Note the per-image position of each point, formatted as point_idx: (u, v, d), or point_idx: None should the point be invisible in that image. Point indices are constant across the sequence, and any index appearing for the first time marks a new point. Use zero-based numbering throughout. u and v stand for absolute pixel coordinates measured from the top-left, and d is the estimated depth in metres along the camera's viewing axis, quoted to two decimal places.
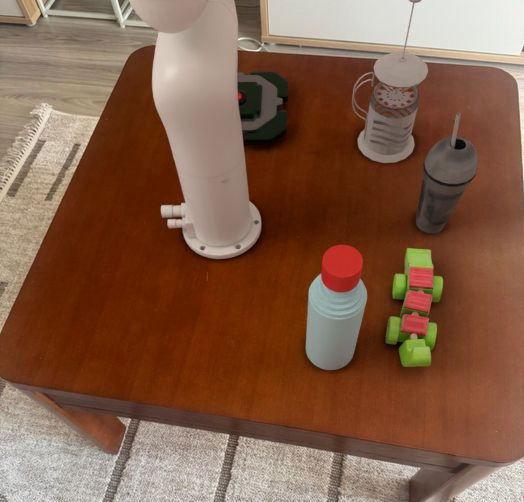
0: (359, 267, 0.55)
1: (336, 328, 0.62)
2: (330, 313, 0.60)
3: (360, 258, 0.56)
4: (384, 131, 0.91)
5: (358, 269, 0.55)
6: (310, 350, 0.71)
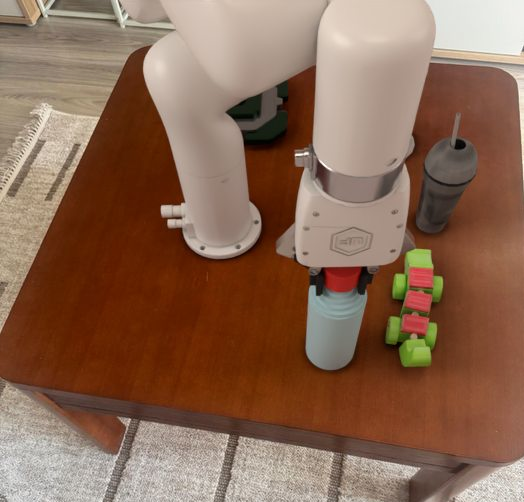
0: (359, 267, 0.55)
1: (336, 328, 0.62)
2: (330, 313, 0.60)
3: None
4: None
5: (358, 269, 0.55)
6: (310, 350, 0.71)
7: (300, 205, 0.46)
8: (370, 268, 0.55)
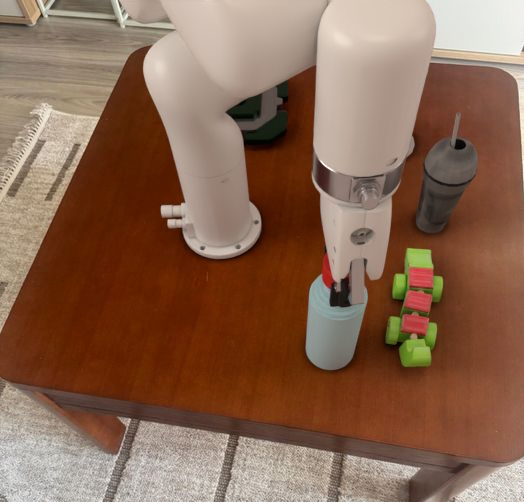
0: None
1: (337, 328, 0.62)
2: (331, 314, 0.60)
3: None
4: None
5: None
6: (310, 350, 0.71)
7: (382, 228, 0.44)
8: None
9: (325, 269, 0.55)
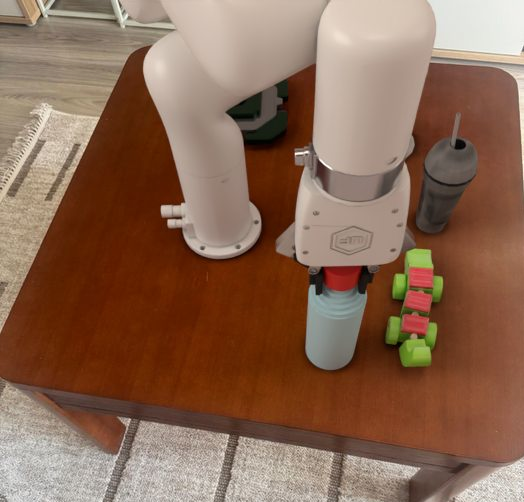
0: None
1: (336, 327, 0.62)
2: (330, 313, 0.60)
3: None
4: None
5: None
6: (310, 350, 0.71)
7: (300, 204, 0.46)
8: (371, 267, 0.54)
9: (353, 275, 0.55)
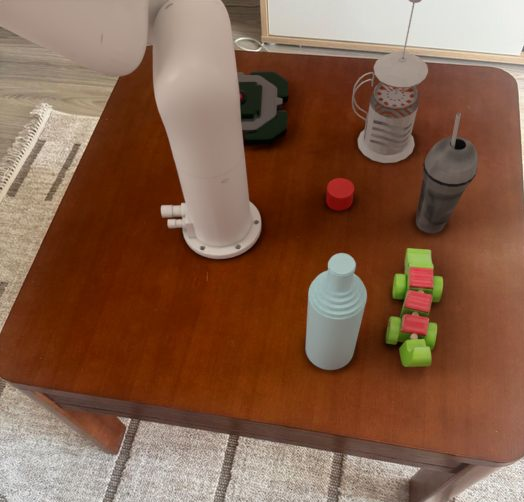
0: (328, 187, 0.83)
1: (336, 327, 0.62)
2: (330, 313, 0.60)
3: (330, 192, 0.83)
4: (384, 131, 0.91)
5: (328, 185, 0.84)
6: (310, 350, 0.71)
7: None
8: None
9: (349, 196, 0.83)
